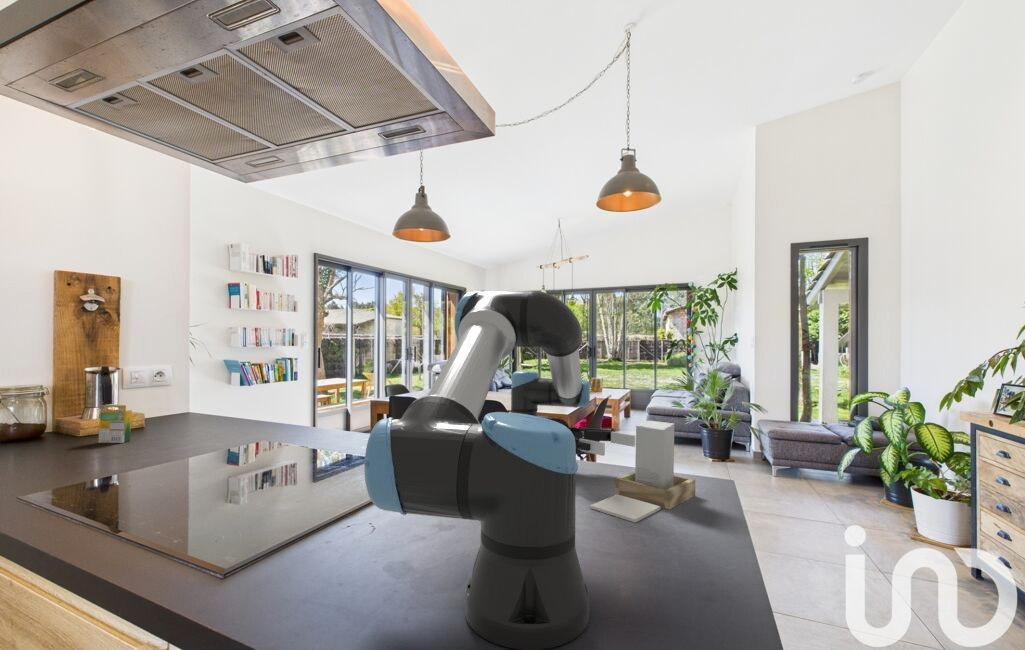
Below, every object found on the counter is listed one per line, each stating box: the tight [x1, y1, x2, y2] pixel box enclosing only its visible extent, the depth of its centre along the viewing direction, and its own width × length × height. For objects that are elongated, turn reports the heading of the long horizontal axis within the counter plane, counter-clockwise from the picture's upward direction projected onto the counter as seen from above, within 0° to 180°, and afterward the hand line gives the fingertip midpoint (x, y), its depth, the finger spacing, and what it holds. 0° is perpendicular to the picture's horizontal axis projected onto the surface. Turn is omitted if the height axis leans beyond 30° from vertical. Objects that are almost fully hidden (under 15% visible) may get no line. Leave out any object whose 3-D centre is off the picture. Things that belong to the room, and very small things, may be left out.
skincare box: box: [634, 420, 675, 490], centre depth 100 cm, size 8×7×16 cm
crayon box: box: [97, 404, 133, 444], centre depth 142 cm, size 7×3×12 cm, turn 97°
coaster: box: [589, 494, 662, 523], centre depth 91 cm, size 10×10×1 cm
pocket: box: [614, 470, 696, 510], centre depth 100 cm, size 12×12×4 cm
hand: (620, 445), depth 107 cm, fingers open, 13 cm apart
